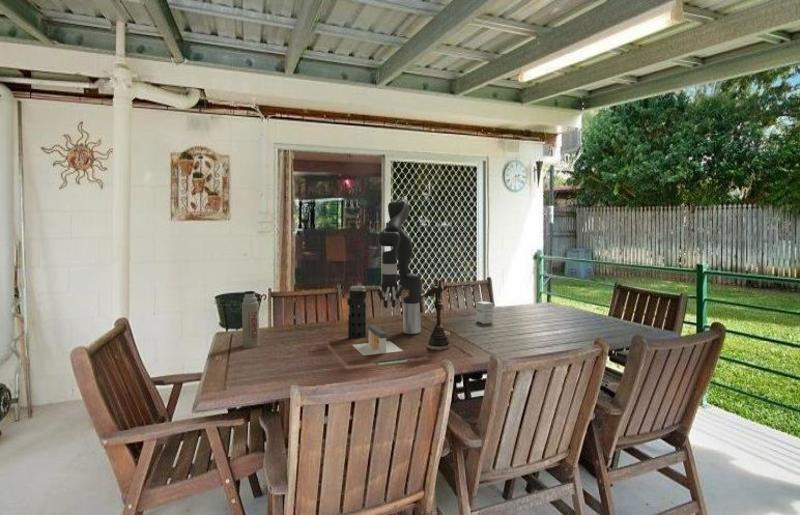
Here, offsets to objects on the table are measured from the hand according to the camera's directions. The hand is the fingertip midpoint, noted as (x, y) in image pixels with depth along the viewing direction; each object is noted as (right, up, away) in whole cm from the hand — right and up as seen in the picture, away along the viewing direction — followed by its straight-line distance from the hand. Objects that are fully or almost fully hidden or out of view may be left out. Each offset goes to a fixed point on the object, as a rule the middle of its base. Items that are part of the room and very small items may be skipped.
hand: (389, 307), depth 227 cm
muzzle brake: (-18, -19, +25) cm, 36 cm away
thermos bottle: (-71, -21, +8) cm, 74 cm away
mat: (0, -23, -16) cm, 28 cm away
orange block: (-6, -20, -2) cm, 21 cm away
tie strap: (-6, -12, -1) cm, 14 cm away
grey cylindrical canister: (+58, -16, +62) cm, 87 cm away
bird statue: (+23, -21, +8) cm, 32 cm away
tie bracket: (-6, -21, -1) cm, 22 cm away
